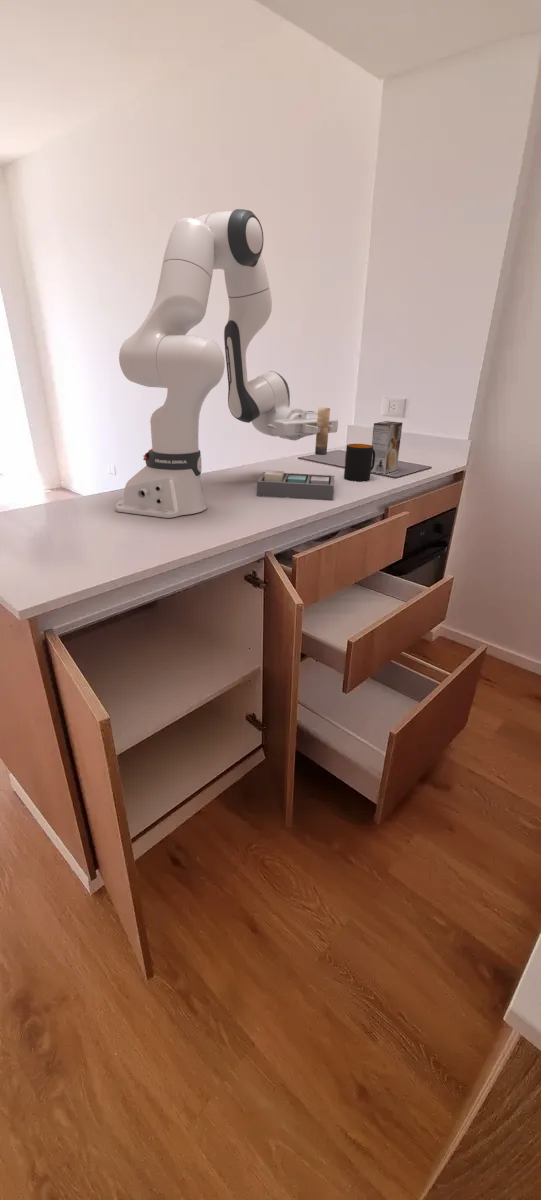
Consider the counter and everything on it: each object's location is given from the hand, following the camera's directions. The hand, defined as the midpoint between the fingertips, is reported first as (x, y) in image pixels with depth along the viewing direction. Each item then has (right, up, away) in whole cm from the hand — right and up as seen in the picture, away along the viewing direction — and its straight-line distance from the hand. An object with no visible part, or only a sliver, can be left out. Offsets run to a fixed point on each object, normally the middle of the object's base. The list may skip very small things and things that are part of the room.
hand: (324, 429), depth 141 cm
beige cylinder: (-1, -6, +4) cm, 7 cm away
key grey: (-1, -15, +7) cm, 16 cm away
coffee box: (+24, -2, +39) cm, 46 cm away
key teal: (-7, -14, +8) cm, 18 cm away
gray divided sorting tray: (-7, -15, +8) cm, 19 cm away
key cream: (-14, -13, +8) cm, 20 cm away
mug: (+14, -7, +28) cm, 32 cm away
